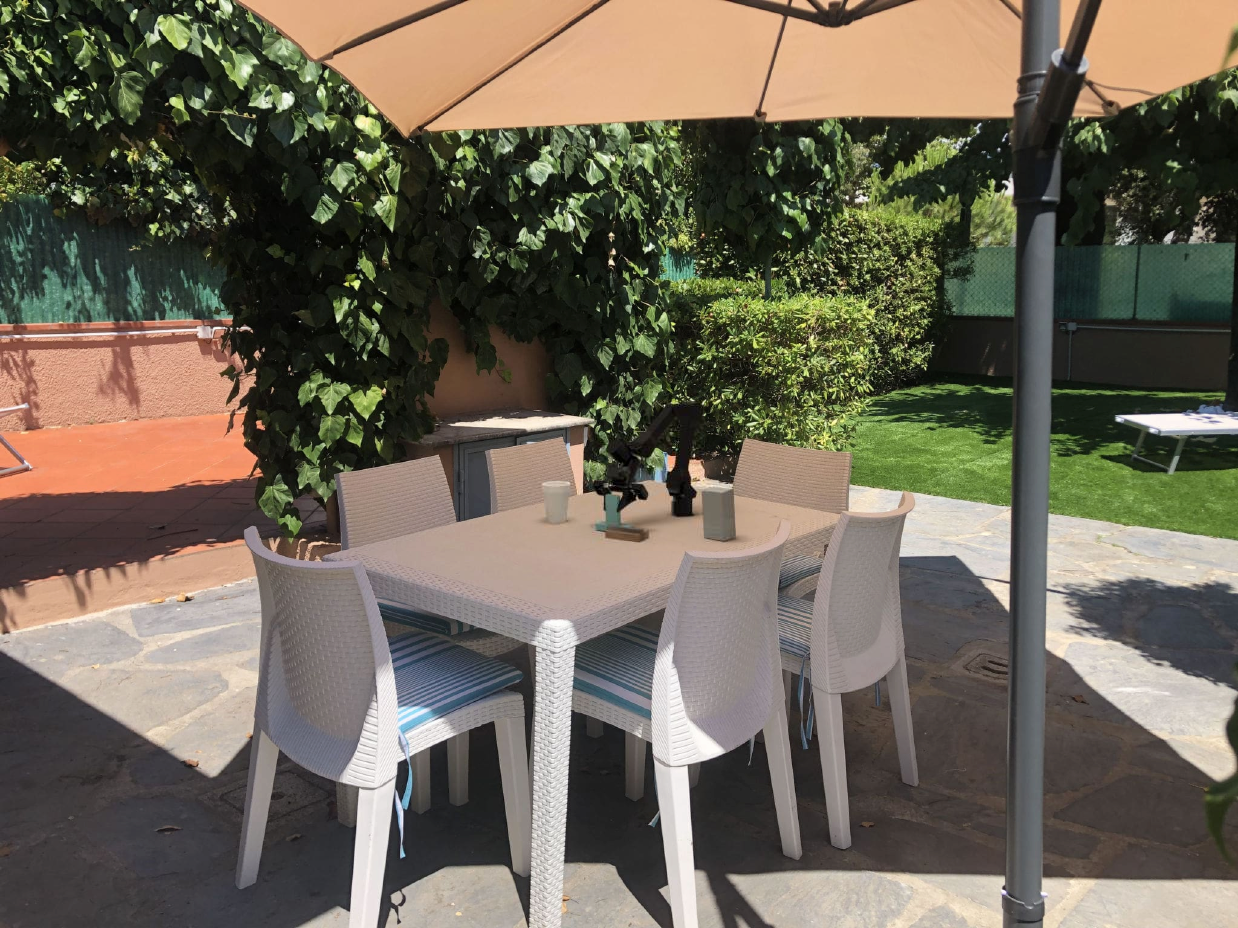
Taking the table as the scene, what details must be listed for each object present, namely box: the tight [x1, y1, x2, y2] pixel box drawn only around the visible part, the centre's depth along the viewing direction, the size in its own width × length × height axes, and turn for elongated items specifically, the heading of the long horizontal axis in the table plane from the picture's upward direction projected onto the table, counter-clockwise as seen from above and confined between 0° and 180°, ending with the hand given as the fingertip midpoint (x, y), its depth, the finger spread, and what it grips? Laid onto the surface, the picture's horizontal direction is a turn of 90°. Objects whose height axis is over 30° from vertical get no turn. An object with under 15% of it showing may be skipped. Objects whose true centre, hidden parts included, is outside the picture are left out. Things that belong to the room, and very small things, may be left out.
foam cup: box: [541, 480, 571, 525], centre depth 332 cm, size 10×9×13 cm
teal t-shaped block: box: [594, 493, 635, 531], centre depth 317 cm, size 4×12×12 cm, turn 60°
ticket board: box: [604, 525, 650, 543], centre depth 309 cm, size 6×13×4 cm, turn 60°
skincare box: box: [701, 486, 737, 542], centre depth 306 cm, size 8×7×16 cm
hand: (610, 511), depth 315 cm, fingers closed on teal t-shaped block, 4 cm apart
